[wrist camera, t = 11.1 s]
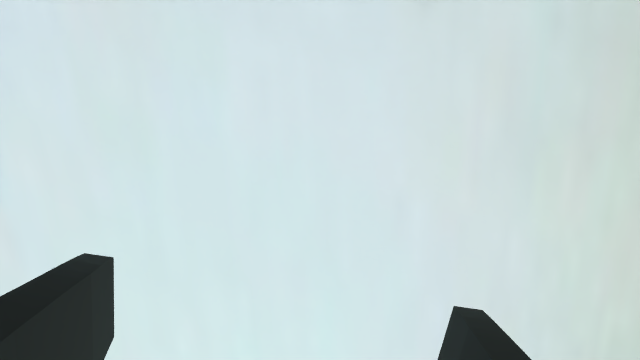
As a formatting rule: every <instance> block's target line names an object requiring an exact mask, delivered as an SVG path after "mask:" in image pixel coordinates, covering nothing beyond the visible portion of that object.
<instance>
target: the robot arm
mask: <svg viewBox="0 0 640 360" xmlns="http://www.w3.org/2000/svg"><path fill="white" fill-rule="evenodd" d="M113 338H114V259H113V257H106V256H99V255H92V254H85V253H84V254H82V255H80V256H77V257H75V258H73V259H71V260H69V261H67V262H65V263H63V264H61V265H59V266H58V267H56V268H54V269H52V270H50V271H48V272H46V273H44V274H42V275H41V276H39V277H37V278H35V279H33V280H31V281H29V282H27V283H25V284H23V285H22V286H20V287H18V288H16V289H14V290H12V291H10V292H8V293H6V294H4V295H2V296H0V360H104V358H105V356H106V354H107V351H108V349H109V347H110V345H111V342H112V340H113ZM438 360H531V359H530V358H529V357H528V356H527V355H526V354H525V353H524V352H523V351H522V350H521V348H520V347H519V346H518V345H517V344H516V343H515V342H514V341H513V340H512V339H511V338H510V337H509V336H508V335H507V334H506V333H505V332H504V331H503V330H502V329H501V328H500V327H499V326H498V325H497V324H496V323H495V322H494V321H493V320H492V319H491V318H490V317H489V316H488V315H487V314H486V313H485V312H484V311H483V310H478V309H471V308H464V307H457V306H454V307H453V311H452V314H451V317H450V321H449V324H448V327H447V330H446V334H445V337H444V340H443V344H442V347H441V350H440V354H439V357H438Z"/></svg>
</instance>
